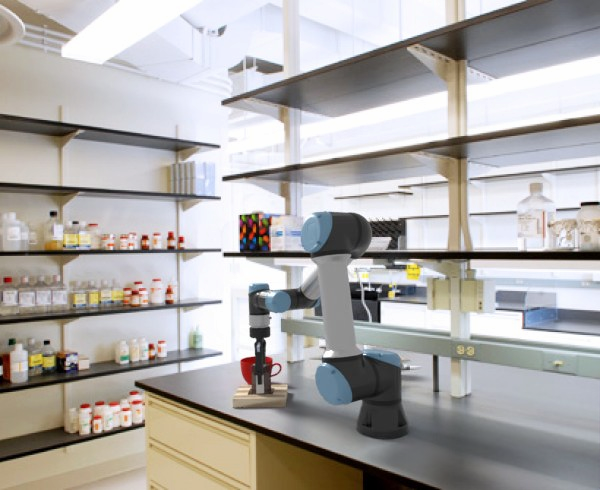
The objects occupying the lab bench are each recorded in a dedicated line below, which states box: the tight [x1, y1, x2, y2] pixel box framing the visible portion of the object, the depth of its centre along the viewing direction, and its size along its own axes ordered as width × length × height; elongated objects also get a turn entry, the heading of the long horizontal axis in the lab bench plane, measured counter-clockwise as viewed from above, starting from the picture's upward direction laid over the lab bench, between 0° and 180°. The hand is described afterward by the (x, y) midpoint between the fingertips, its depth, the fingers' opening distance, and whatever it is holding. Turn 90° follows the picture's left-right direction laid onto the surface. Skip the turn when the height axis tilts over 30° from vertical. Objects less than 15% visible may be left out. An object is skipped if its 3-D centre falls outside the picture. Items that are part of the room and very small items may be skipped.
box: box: [251, 364, 272, 395], centre depth 177 cm, size 6×4×12 cm
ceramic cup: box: [239, 355, 283, 385], centre depth 197 cm, size 13×17×10 cm
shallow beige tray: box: [232, 384, 289, 409], centre depth 177 cm, size 17×18×3 cm
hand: (261, 390), depth 177 cm, fingers open, 7 cm apart
